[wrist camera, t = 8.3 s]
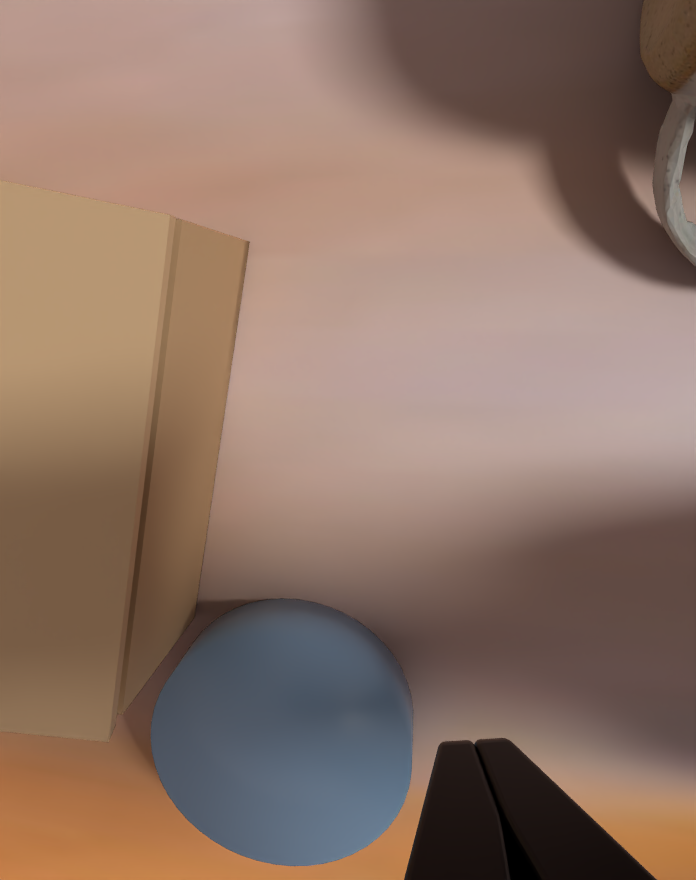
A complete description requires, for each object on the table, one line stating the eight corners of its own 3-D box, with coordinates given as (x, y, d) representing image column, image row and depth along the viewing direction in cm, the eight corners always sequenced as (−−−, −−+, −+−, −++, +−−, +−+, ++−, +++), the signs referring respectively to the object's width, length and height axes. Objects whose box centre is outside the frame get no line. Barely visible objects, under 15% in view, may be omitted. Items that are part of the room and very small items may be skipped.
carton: (249, 241, 18) (182, 220, 13) (194, 617, 21) (122, 714, 16) (-76, 178, 19) (-255, 135, 14) (-86, 548, 21) (-237, 621, 17)
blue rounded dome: (460, 745, 21) (464, 801, 18) (269, 839, 22) (250, 901, 20) (323, 551, 20) (309, 584, 18) (135, 665, 22) (100, 709, 19)
